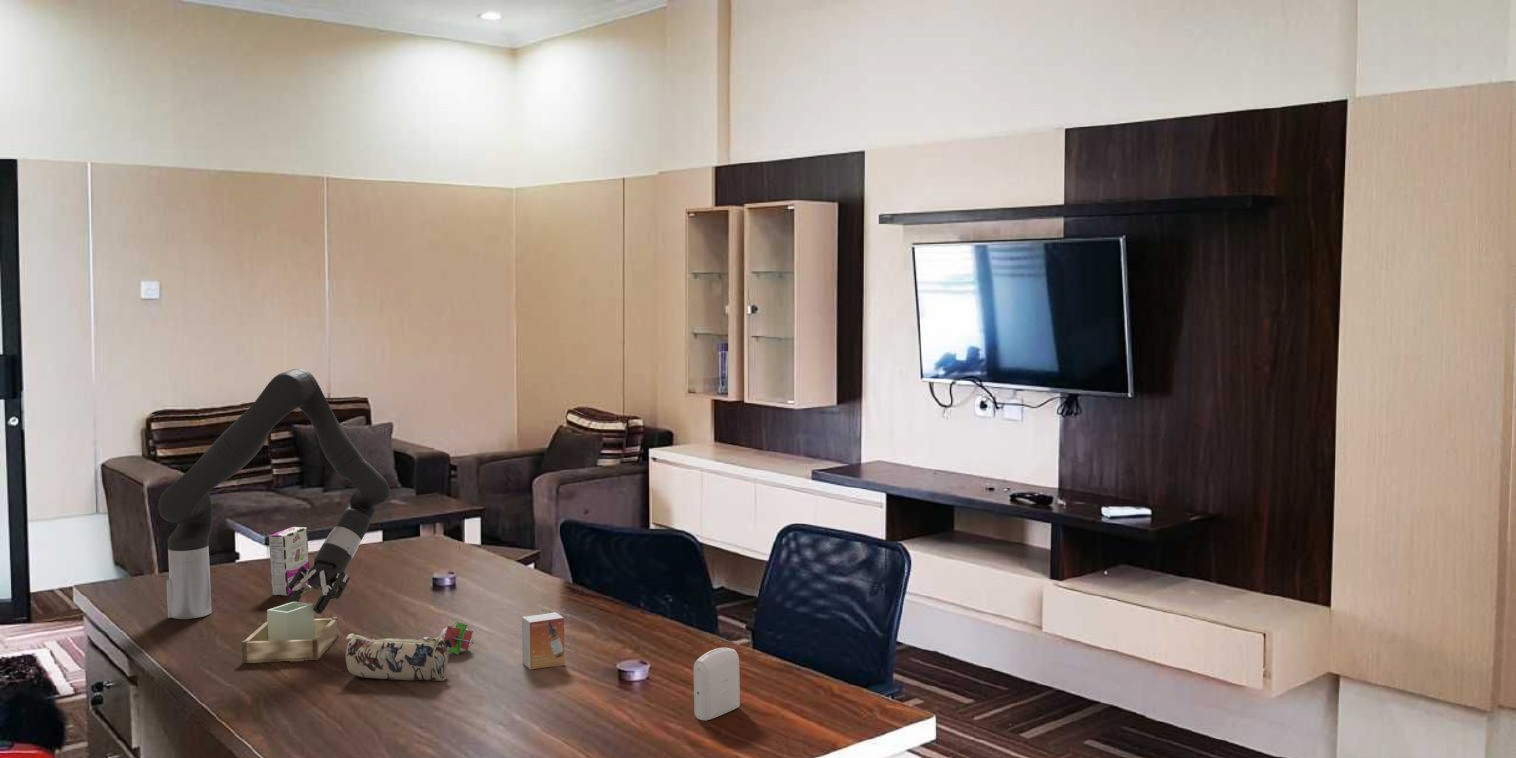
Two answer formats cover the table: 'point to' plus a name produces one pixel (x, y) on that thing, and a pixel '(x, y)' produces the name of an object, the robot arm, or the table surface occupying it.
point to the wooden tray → (289, 644)
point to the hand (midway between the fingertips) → (302, 610)
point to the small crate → (291, 622)
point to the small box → (543, 640)
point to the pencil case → (397, 658)
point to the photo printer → (716, 683)
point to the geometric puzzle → (457, 637)
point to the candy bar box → (287, 557)
